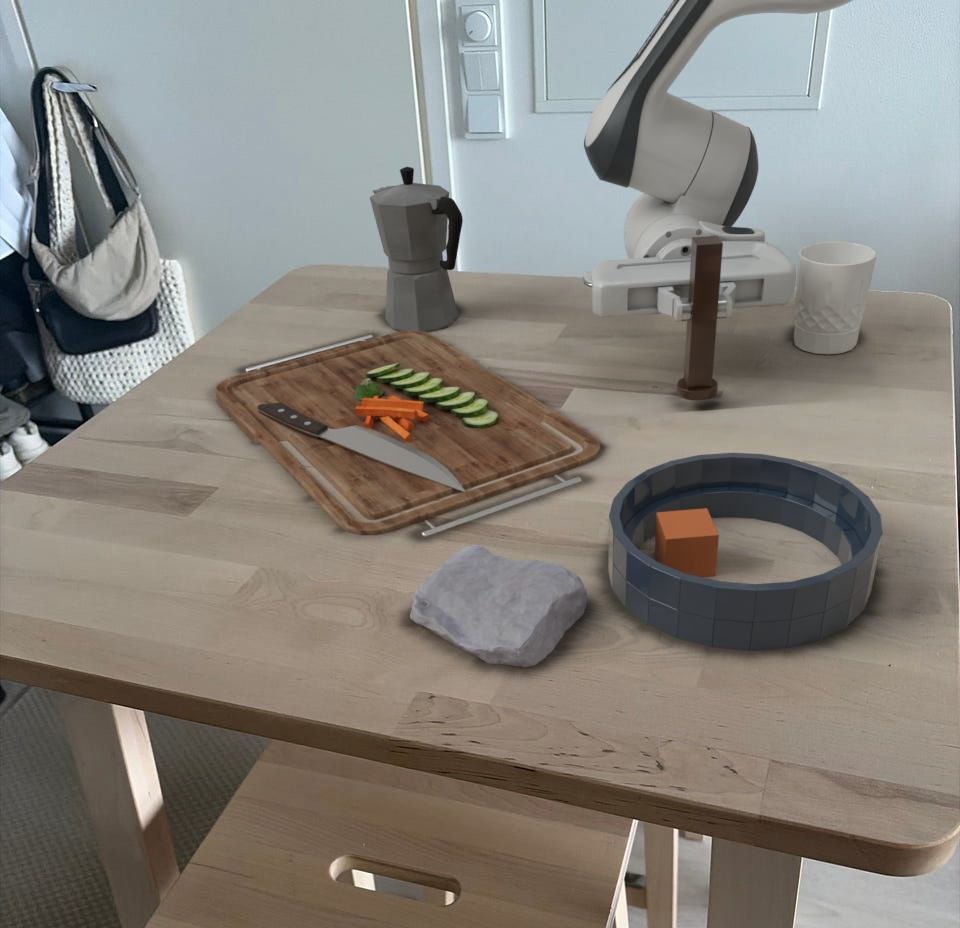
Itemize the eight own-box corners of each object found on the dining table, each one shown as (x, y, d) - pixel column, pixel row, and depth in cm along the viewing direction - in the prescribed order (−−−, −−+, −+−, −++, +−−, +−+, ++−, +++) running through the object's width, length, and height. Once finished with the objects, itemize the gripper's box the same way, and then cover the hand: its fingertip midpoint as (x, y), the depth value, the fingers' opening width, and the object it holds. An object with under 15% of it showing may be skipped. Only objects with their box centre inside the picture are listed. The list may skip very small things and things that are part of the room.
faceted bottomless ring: (825, 508, 88) (835, 444, 84) (906, 649, 72) (923, 579, 69) (595, 524, 88) (595, 461, 85) (627, 668, 73) (629, 599, 69)
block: (703, 551, 83) (707, 507, 80) (715, 578, 80) (719, 534, 77) (654, 555, 83) (656, 512, 80) (663, 583, 80) (665, 539, 77)
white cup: (865, 357, 112) (881, 264, 106) (790, 357, 113) (802, 265, 107) (856, 330, 118) (871, 240, 112) (785, 330, 119) (796, 241, 113)
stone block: (538, 702, 73) (598, 606, 78) (526, 657, 70) (590, 560, 75) (401, 660, 79) (466, 573, 84) (385, 616, 75) (453, 528, 80)
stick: (712, 382, 105) (724, 232, 96) (720, 399, 102) (733, 245, 93) (673, 385, 106) (681, 235, 96) (680, 402, 102) (689, 248, 93)
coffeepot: (360, 319, 131) (339, 168, 120) (417, 298, 136) (402, 151, 125) (439, 348, 122) (424, 187, 111) (497, 324, 127) (488, 168, 116)
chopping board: (631, 471, 95) (631, 441, 93) (369, 565, 85) (364, 534, 84) (411, 331, 127) (408, 306, 125) (202, 388, 117) (196, 362, 115)
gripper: (580, 241, 107) (595, 286, 96) (777, 227, 107) (815, 270, 96) (580, 301, 111) (595, 351, 100) (770, 288, 111) (806, 336, 100)
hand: (704, 311), depth 98 cm, fingers closed on stick, 2 cm apart
